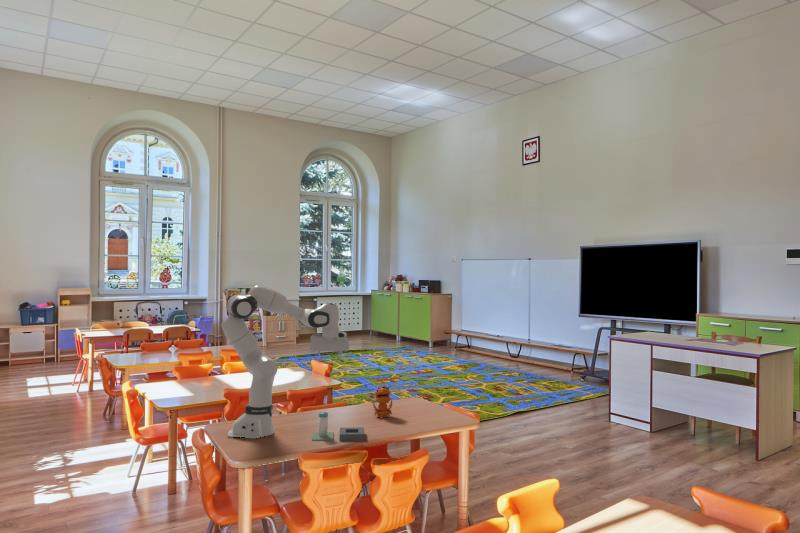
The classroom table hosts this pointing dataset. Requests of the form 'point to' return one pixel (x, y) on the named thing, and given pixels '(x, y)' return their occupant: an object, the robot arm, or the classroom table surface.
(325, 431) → the filter cartridge
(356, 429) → the grey square base
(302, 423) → the classroom table surface
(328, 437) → the service mat
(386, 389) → the brown plush toy
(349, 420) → the classroom table surface
